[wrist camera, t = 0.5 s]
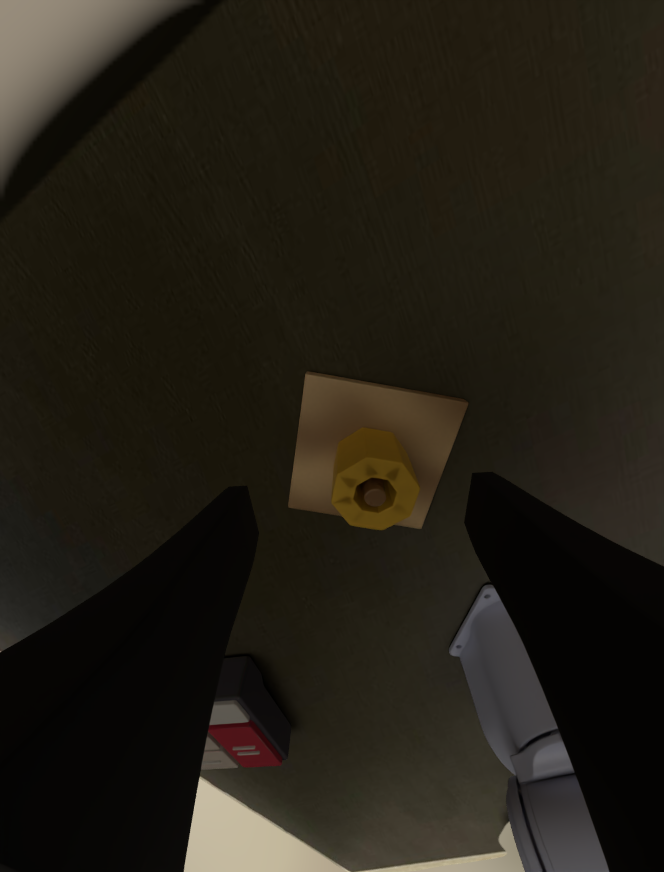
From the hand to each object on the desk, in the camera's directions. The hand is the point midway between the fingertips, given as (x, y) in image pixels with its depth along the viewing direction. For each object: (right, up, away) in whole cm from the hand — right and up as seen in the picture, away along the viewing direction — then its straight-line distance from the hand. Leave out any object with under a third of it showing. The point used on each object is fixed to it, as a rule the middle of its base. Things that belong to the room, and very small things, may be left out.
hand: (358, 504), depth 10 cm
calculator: (-13, -28, +25) cm, 40 cm away
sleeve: (+2, +1, +10) cm, 10 cm away
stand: (+2, +1, +11) cm, 11 cm away
